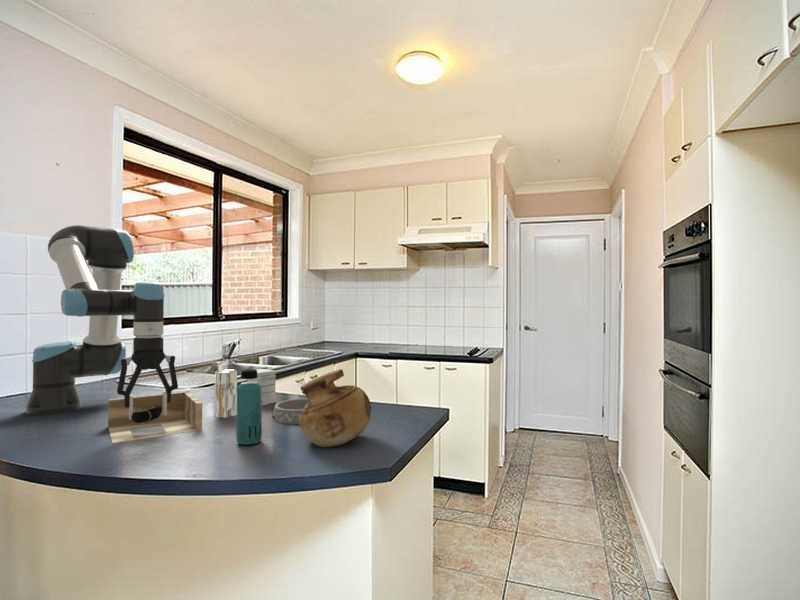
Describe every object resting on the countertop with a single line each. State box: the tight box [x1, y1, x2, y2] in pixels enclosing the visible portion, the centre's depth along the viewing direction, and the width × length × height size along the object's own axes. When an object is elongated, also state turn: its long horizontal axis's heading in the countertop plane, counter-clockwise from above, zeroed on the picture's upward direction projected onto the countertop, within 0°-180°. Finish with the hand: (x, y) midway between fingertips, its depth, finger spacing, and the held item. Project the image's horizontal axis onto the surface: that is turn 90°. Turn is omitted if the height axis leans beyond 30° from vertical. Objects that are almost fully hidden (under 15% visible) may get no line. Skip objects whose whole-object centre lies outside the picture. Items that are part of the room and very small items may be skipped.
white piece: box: [214, 369, 238, 418], centre depth 147 cm, size 7×7×15 cm
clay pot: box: [298, 369, 372, 448], centre depth 119 cm, size 19×19×20 cm
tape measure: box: [132, 406, 162, 423], centre depth 126 cm, size 7×7×4 cm
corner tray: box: [107, 390, 203, 444], centre depth 132 cm, size 20×22×8 cm
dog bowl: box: [272, 397, 309, 425], centre depth 145 cm, size 17×18×5 cm
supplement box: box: [246, 368, 277, 407], centre depth 164 cm, size 7×7×13 cm
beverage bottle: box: [235, 368, 263, 445], centre depth 118 cm, size 6×7×20 cm
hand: (148, 416), depth 129 cm, fingers closed on tape measure, 8 cm apart
